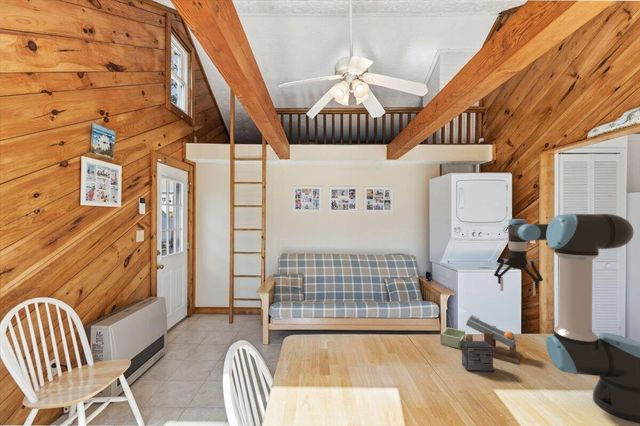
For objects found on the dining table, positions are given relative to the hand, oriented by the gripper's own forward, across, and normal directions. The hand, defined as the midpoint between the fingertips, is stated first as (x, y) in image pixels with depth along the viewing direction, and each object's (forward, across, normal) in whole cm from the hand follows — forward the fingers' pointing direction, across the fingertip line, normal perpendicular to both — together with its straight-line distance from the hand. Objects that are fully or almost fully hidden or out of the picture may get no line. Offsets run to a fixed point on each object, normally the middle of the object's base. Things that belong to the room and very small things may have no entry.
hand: (517, 292), depth 151 cm
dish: (+25, +25, +19) cm, 41 cm away
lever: (+17, +9, +16) cm, 25 cm away
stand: (+25, +9, +19) cm, 33 cm away
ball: (+16, +1, +18) cm, 24 cm away
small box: (+25, +10, +39) cm, 47 cm away
